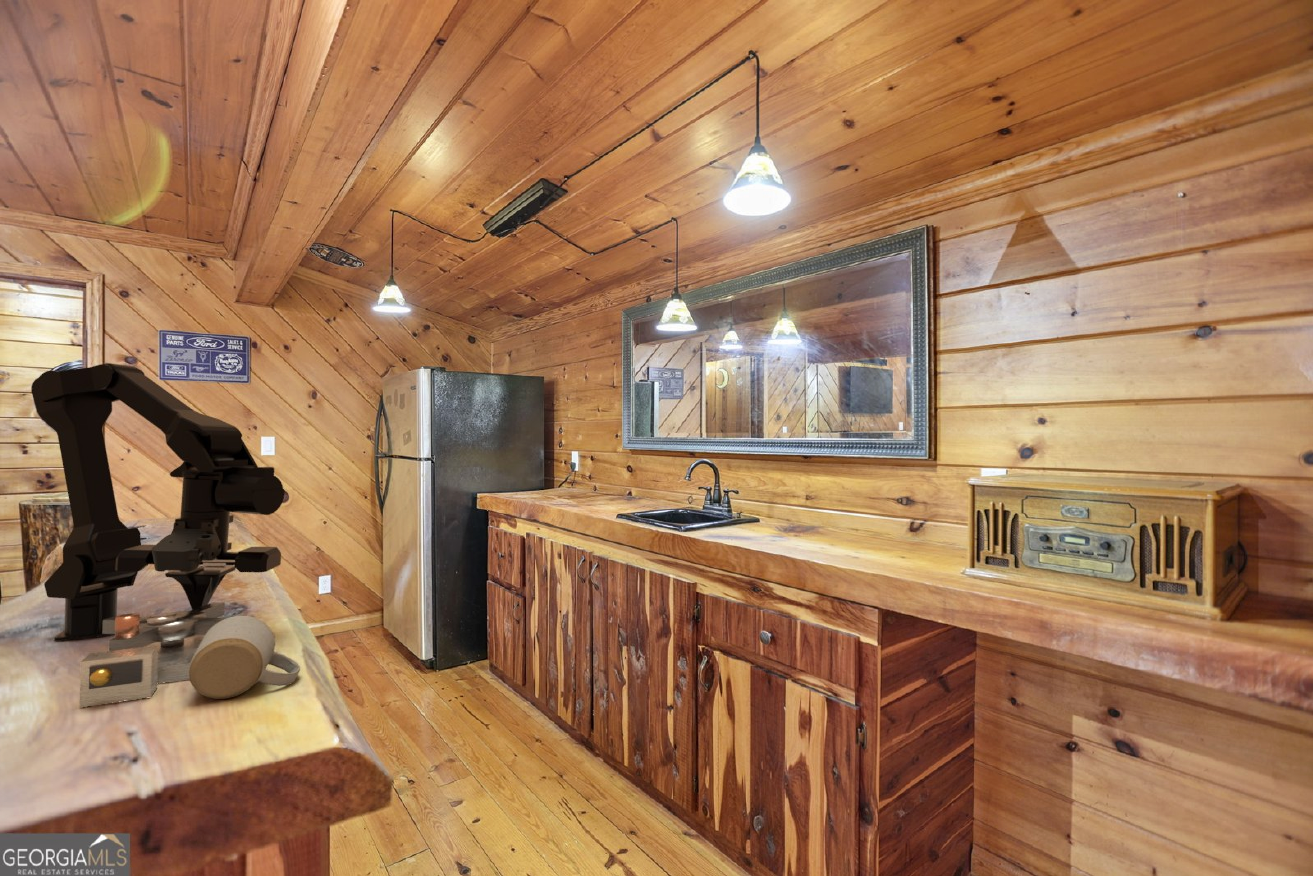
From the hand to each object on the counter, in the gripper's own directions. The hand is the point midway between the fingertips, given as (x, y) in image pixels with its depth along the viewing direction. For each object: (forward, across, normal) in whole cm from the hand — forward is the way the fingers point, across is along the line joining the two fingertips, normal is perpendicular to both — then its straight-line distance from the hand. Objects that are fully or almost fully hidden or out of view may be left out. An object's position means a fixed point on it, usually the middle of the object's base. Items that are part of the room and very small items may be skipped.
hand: (198, 618), depth 87 cm
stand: (+3, +2, -10) cm, 11 cm away
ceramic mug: (+3, +14, -18) cm, 23 cm away
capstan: (0, +1, -7) cm, 8 cm away
